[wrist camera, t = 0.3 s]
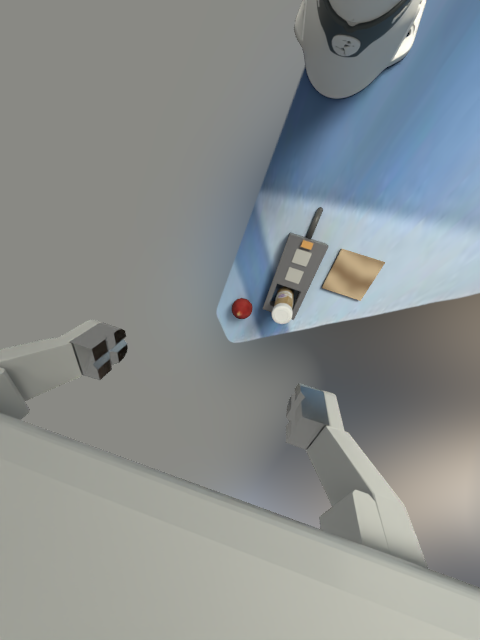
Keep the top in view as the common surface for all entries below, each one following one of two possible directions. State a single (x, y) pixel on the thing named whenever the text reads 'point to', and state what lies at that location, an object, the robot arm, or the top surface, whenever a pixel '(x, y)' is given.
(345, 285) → the wooden mat
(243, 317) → the onion
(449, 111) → the top surface
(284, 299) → the sprinkles bottle
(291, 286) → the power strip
